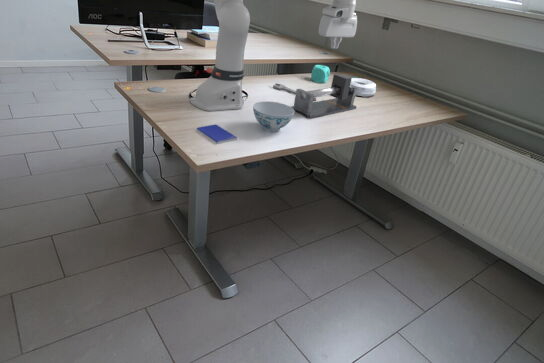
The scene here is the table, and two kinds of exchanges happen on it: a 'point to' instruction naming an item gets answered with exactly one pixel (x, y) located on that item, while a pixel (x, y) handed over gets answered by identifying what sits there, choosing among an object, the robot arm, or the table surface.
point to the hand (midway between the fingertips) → (334, 48)
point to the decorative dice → (320, 74)
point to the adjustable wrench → (286, 89)
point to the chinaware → (272, 115)
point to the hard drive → (216, 134)
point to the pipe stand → (323, 102)
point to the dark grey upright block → (341, 85)
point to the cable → (364, 87)
